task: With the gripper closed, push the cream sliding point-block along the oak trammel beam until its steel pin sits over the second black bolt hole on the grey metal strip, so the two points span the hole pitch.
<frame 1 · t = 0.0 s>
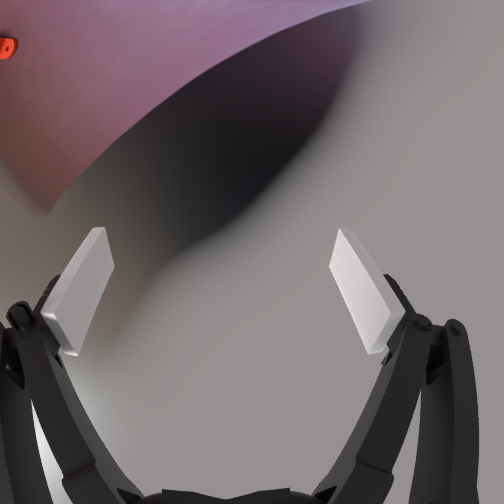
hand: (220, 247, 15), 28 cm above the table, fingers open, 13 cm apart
bracket: (0, 47, 21), on the table
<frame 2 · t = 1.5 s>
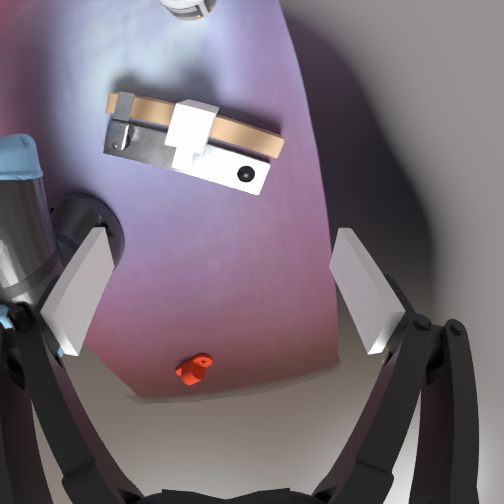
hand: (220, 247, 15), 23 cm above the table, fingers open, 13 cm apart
pill bottle: (193, 3, 22), on the table
bracket: (193, 363, 61), on the table
fixed leg: (133, 103, 29), resting on beam
hole plate: (184, 153, 34), on the table
beam: (195, 117, 31), on the table
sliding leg: (190, 136, 29), point 4 cm above the table, slide at 0.0 cm
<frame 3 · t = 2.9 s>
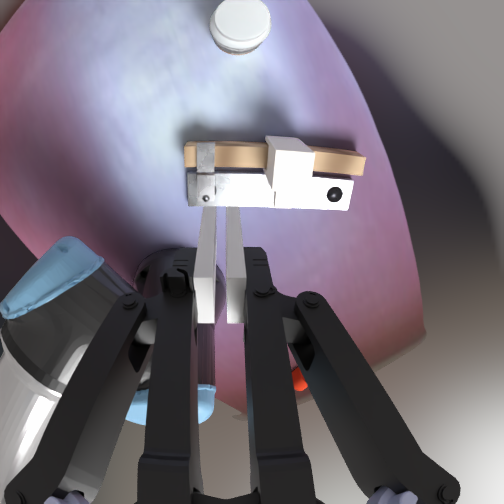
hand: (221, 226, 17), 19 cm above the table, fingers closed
pill bottle: (237, 35, 25), on the table
bracket: (300, 369, 63), on the table
fixed leg: (207, 150, 33), resting on beam
hole plate: (272, 188, 36), on the table
beam: (275, 152, 34), on the table
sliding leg: (284, 174, 31), point 4 cm above the table, slide at 0.0 cm
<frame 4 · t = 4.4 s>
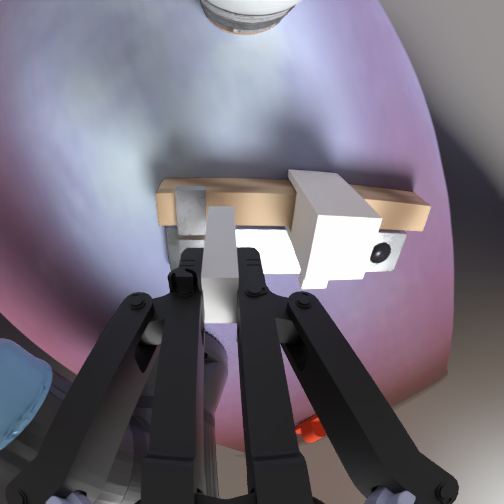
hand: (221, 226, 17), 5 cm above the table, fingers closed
pill bottle: (244, 4, 13), on the table
bracket: (311, 419, 52), on the table
fixed leg: (196, 192, 21), resting on beam
hole plate: (294, 246, 25), on the table
beam: (302, 195, 22), on the table
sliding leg: (319, 239, 20), point 4 cm above the table, slide at 0.0 cm
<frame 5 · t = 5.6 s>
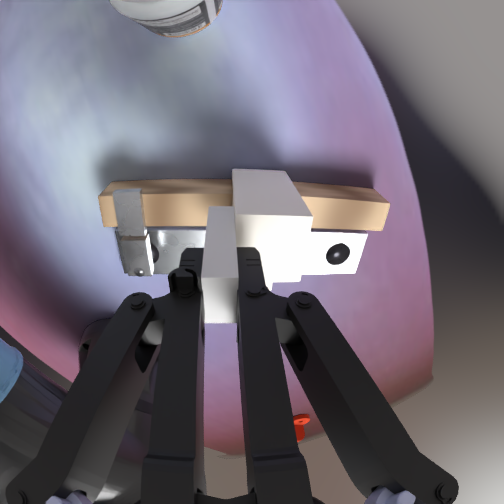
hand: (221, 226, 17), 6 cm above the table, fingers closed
pill bottle: (182, 6, 13), on the table
bracket: (289, 422, 51), on the table
fixed leg: (141, 194, 21), resting on beam
hole plate: (243, 247, 25), on the table
beam: (247, 194, 22), on the table
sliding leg: (260, 239, 19), point 4 cm above the table, slide at 0.2 cm, touching gripper
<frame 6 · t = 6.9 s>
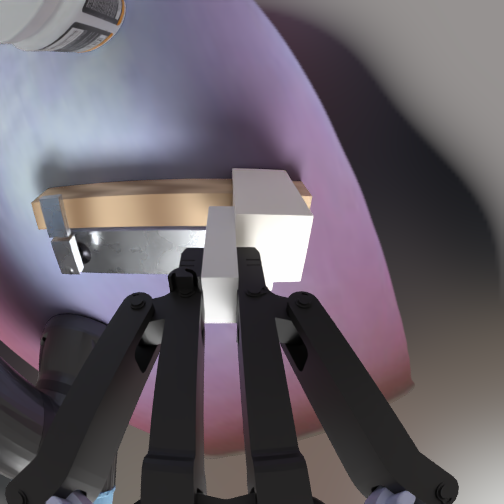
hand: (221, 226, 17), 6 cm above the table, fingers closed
pill bottle: (95, 21, 12), on the table
fixed leg: (72, 198, 20), resting on beam
hole plate: (167, 246, 24), on the table
beam: (162, 194, 21), on the table
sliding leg: (261, 239, 19), point 4 cm above the table, slide at 7.0 cm, touching gripper
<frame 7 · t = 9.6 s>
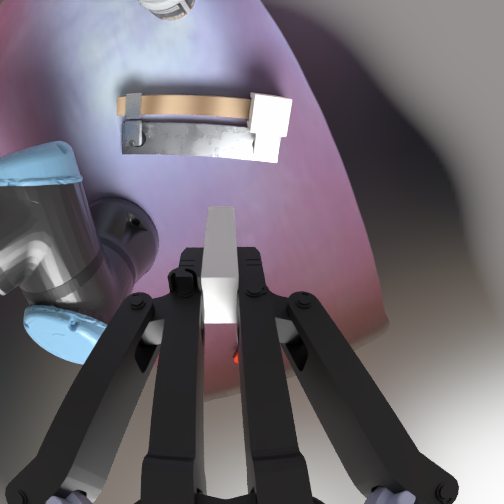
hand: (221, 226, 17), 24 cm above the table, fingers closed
pill bottle: (174, 4, 24), on the table
fixed leg: (141, 103, 32), resting on beam
hole plate: (198, 138, 36), on the table
beam: (201, 103, 33), on the table
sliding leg: (265, 124, 31), point 4 cm above the table, slide at 7.7 cm
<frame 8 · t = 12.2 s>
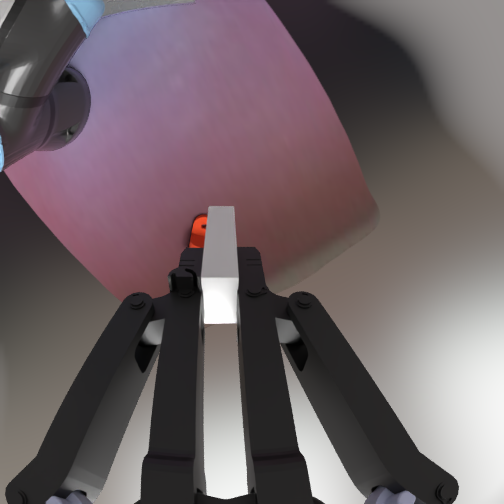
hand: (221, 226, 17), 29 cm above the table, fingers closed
bracket: (200, 240, 52), on the table
hole plate: (127, 1, 25), on the table
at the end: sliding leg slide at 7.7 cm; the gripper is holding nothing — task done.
